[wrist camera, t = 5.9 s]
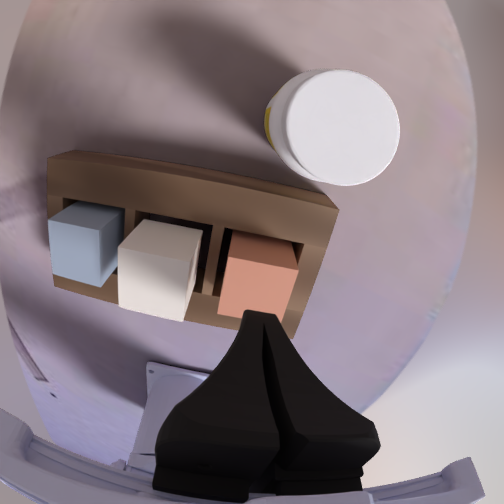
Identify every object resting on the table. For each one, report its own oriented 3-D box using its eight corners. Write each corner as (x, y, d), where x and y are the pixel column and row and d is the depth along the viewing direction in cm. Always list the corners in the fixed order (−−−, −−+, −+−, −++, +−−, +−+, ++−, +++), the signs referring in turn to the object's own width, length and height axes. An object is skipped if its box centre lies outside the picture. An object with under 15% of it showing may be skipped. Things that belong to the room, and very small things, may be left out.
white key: (195, 283, 18) (182, 322, 14) (140, 271, 17) (118, 307, 14) (203, 230, 16) (189, 262, 13) (143, 218, 16) (117, 246, 12)
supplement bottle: (318, 175, 18) (366, 223, 10) (249, 138, 17) (244, 157, 9) (356, 109, 16) (430, 110, 8) (286, 69, 15) (314, 31, 7)
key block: (288, 312, 22) (292, 338, 19) (73, 266, 20) (54, 286, 18) (326, 195, 18) (339, 210, 15) (72, 150, 17) (47, 158, 14)
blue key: (124, 257, 18) (100, 287, 15) (80, 247, 18) (52, 274, 15) (126, 207, 17) (99, 230, 13) (80, 199, 16) (47, 219, 13)
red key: (276, 288, 19) (280, 324, 16) (223, 278, 19) (217, 313, 15) (290, 239, 18) (298, 270, 14) (233, 228, 17) (228, 256, 14)
